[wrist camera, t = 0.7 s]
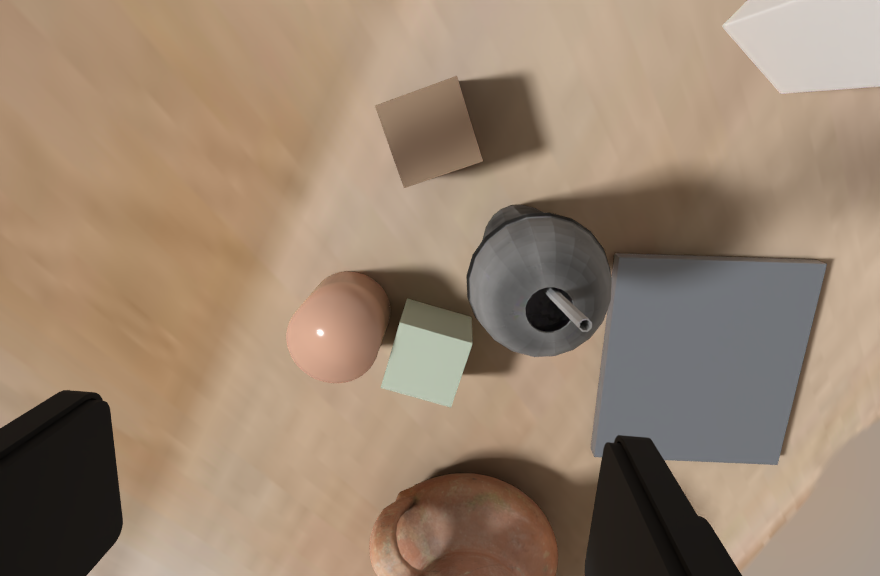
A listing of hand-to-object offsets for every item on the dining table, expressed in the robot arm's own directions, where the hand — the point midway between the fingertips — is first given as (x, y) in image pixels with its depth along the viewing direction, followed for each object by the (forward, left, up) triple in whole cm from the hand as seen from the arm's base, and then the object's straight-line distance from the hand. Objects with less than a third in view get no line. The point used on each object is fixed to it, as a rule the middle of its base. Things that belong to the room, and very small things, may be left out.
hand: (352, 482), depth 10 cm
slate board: (+10, +20, -29) cm, 37 cm away
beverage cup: (+1, +6, -30) cm, 30 cm away
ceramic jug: (+26, +3, -30) cm, 40 cm away
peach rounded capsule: (+7, -6, -30) cm, 31 cm away
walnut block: (-6, 0, -30) cm, 30 cm away
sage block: (+9, 0, -30) cm, 31 cm away
